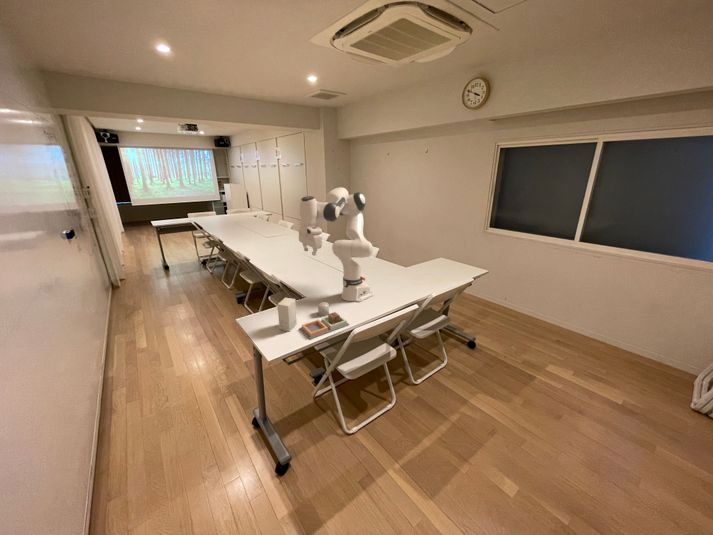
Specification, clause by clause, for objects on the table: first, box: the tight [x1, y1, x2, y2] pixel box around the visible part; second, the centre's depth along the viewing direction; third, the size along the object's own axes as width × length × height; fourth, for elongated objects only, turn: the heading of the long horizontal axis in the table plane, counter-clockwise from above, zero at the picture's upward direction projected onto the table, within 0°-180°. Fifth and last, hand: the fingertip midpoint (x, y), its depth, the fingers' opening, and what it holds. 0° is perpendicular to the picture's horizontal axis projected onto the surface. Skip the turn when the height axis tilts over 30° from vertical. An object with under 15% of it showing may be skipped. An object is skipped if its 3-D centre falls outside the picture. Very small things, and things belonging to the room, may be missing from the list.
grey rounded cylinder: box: [317, 301, 330, 317], centre depth 161 cm, size 6×6×6 cm
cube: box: [327, 311, 341, 325], centre depth 150 cm, size 4×4×5 cm
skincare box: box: [277, 297, 298, 332], centre depth 145 cm, size 8×7×16 cm
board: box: [299, 315, 350, 340], centre depth 148 cm, size 24×12×3 cm, turn 127°
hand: (310, 253), depth 150 cm, fingers open, 8 cm apart
